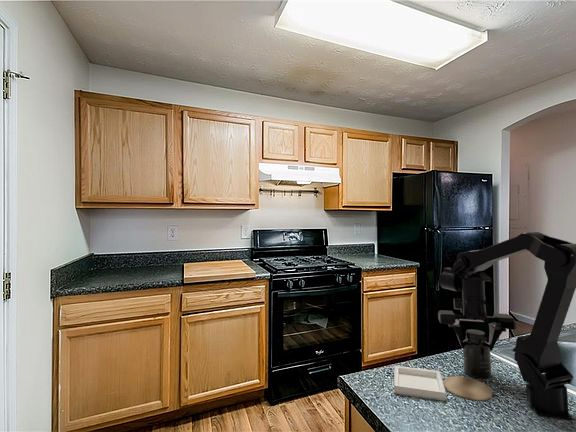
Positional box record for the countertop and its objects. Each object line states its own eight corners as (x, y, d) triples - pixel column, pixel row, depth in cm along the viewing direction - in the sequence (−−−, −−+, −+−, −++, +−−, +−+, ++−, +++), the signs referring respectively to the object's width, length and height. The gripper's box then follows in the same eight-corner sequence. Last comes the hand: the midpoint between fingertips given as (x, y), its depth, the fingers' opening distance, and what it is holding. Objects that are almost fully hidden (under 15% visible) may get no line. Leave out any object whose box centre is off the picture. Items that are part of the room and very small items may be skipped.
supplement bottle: (458, 370, 90) (456, 329, 90) (476, 367, 92) (473, 326, 93) (479, 381, 83) (476, 337, 84) (497, 377, 85) (495, 334, 86)
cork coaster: (485, 381, 83) (485, 379, 83) (498, 403, 73) (498, 401, 73) (441, 376, 87) (441, 374, 87) (447, 396, 77) (446, 393, 77)
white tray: (439, 378, 86) (439, 371, 86) (446, 401, 74) (445, 392, 75) (395, 372, 90) (394, 365, 90) (394, 393, 79) (394, 385, 79)
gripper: (502, 290, 93) (505, 342, 92) (435, 288, 99) (437, 336, 99) (515, 298, 83) (518, 357, 82) (439, 295, 89) (442, 349, 88)
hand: (476, 349), depth 88 cm, fingers closed on supplement bottle, 7 cm apart
